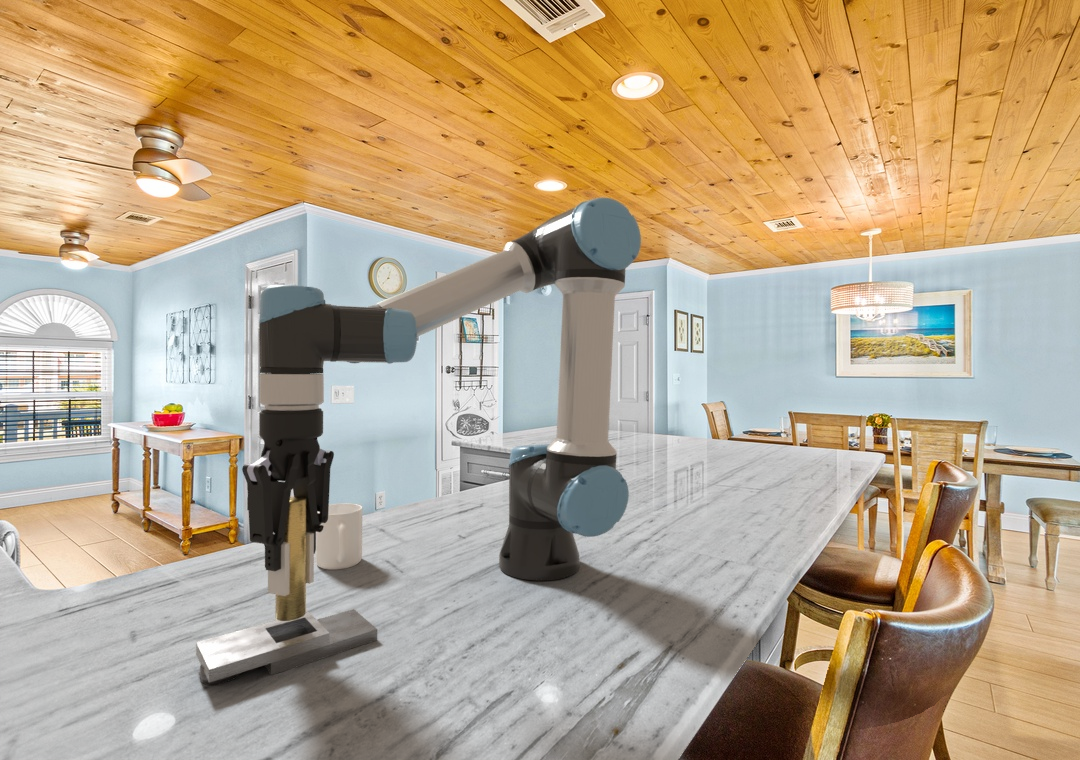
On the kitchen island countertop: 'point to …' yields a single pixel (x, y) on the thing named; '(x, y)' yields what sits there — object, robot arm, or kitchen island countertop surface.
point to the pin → (295, 563)
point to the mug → (340, 537)
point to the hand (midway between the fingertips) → (291, 586)
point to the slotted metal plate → (281, 645)
